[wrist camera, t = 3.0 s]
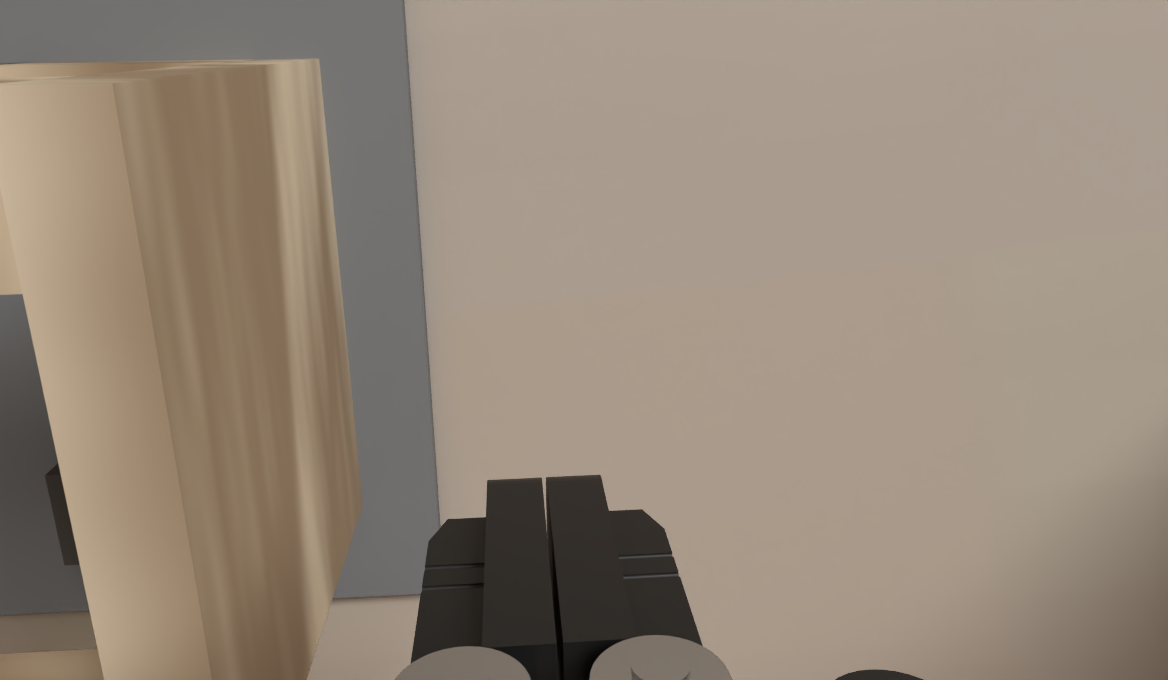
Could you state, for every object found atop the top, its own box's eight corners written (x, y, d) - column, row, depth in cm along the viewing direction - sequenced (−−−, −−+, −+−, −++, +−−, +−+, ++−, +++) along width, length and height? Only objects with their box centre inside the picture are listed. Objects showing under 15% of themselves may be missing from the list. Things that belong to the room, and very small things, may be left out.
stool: (106, 515, 25) (-224, 904, 14) (16, 62, 22) (-535, 92, 10) (362, 504, 26) (244, 871, 14) (318, 58, 22) (111, 83, 11)
